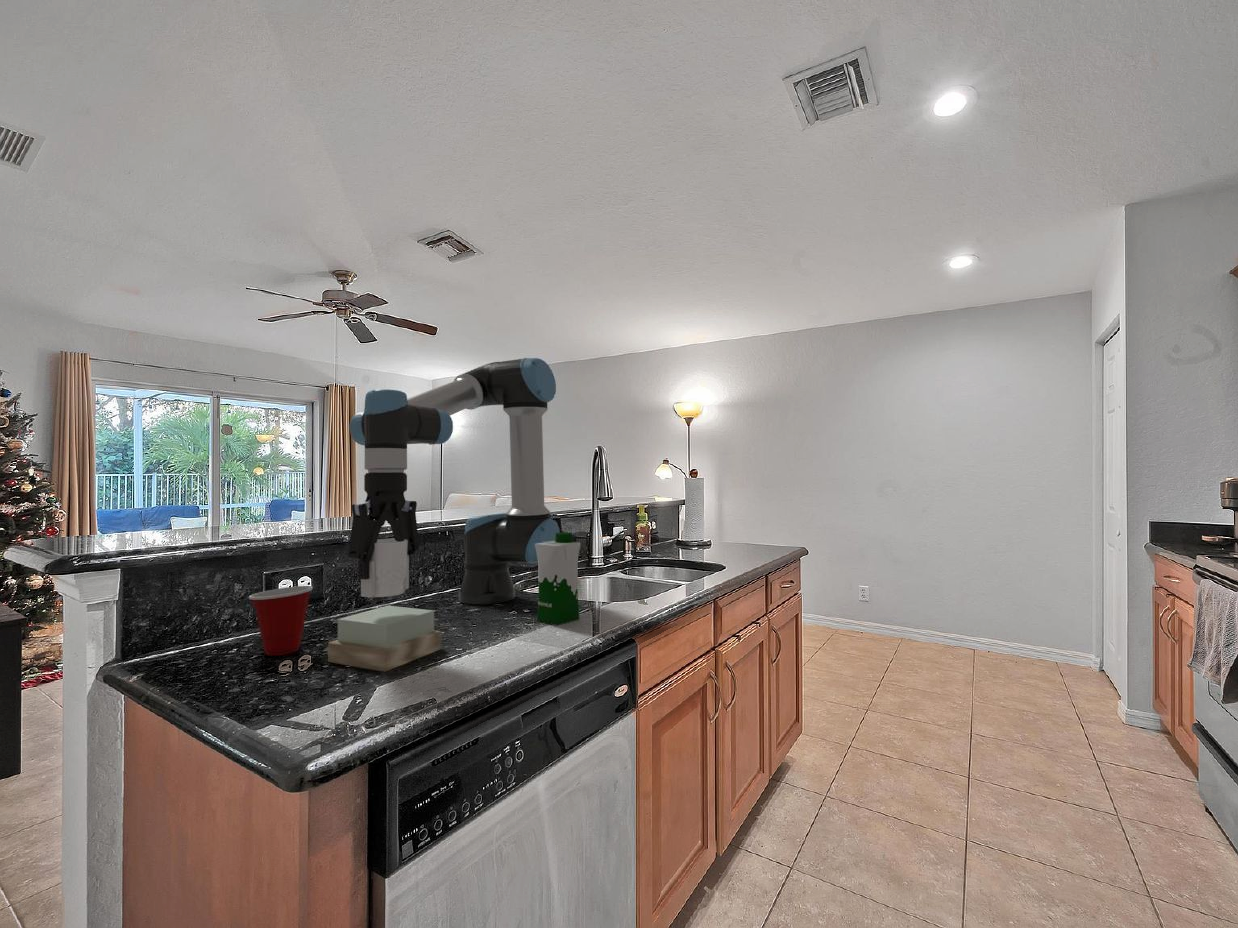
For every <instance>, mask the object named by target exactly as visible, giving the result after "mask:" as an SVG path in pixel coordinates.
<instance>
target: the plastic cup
mask: <svg viewBox="0 0 1238 928" xmlns="http://www.w3.org/2000/svg"><path fill="white" fill-rule="evenodd" d="M312 590H313V586H312V585H298V586H289V587H288V586H287V587H281V588H275V589H270V590H264V591H260V592H257V593H253V594H251V595H249V596H248V599H249V600H250V601H251V603H252V605H253V608H254V611H255V612H256V614H255V615H256V618H257V622H258V623H257V624H258V628H259V635H260V638H261V641H262V646H263V651H264V653H265V655H267V656H274V657H275V656H285V655H290V654H294V653H296V652H297V651H299V649H300V646H301V642H302V638H303V637H302V636H303V632H304V627H305V622H306V615H307V610H308V604H309V599H310V595H311V592H312Z"/></svg>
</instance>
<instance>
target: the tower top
mask: <svg viewBox="0 0 1238 928" xmlns="http://www.w3.org/2000/svg"><path fill="white" fill-rule="evenodd" d="M434 630H435V610H431V609H422V608H416V607H415V608H414V607H404V606H403V607H402V606H396V605H385V606H382V607H377V608H373V609H370V610H366V611H363V612H359V613H355V614H352V615H348V616H345V617H341V618H337V640H338V641H341V642H348V643H355V644H361V645H368V646H375V647H381V648H389V647H391V646H394V645H397V644H400V643H402V642H405V641H408V640H411V639H414V638H416V637H419V636H422V635H425V634H428V633H430V632H433V631H434Z"/></svg>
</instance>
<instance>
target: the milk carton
mask: <svg viewBox="0 0 1238 928" xmlns="http://www.w3.org/2000/svg"><path fill="white" fill-rule="evenodd" d="M573 538H574V537H573V532H560V533H556V536H555V540H556V541H550V542H543V543H537V544H535V548H536V553H537V558H538V564H537V565H538V566H537V567H538V571H537V573H538V574H537V575H538V577H537V579H538V580H537V582H538V583H537V584H538V593H537V595H538V598H537V599H538V600H537V603H538V604H537V615H536V617H537V618H536V621H537V622H543V623H545V624H549V625H550V624H551V625H554V626H559V625H563V624H568V623H571V622H575V621H579V620H580V609H579V608H580V607H579V593H578V591H579V585H578V583H579V578H578V577H579V574H578V570H579V569H578V566H579V565H578V562H579V561H578V560H579V555H580V550H581V542H580V541H579V542H577V541H574V540H573Z"/></svg>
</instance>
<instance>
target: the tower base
mask: <svg viewBox="0 0 1238 928" xmlns="http://www.w3.org/2000/svg"><path fill="white" fill-rule="evenodd" d="M439 650H442V631H441V630H435V629H434V631H433V632H430V633H428V634H425V635H422V636H419V637H416V638H414V639H411V640H408V641H405V642H402V643H400V644H397V645H394V646H391V647H389V648H381V647H375V646H368V645H361V644H355V643H348V642H341V641H338V639H336V640H332V641H328V643H327V663H328V662H329V663H331V664H332V663H333V664H339V665H344V666H349V667H355V668H362V669H368V670H372V671H373V670H374V671H379V672H388V671H390V670H392V669H395V668H397V667H400V666H402V665H405V664H409V663H410V662H412V661H415V660H417V659H420V658H422V657H425V656H427V655H430V654H432V653H435V652H436V651H437V652H438V651H439Z"/></svg>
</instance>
